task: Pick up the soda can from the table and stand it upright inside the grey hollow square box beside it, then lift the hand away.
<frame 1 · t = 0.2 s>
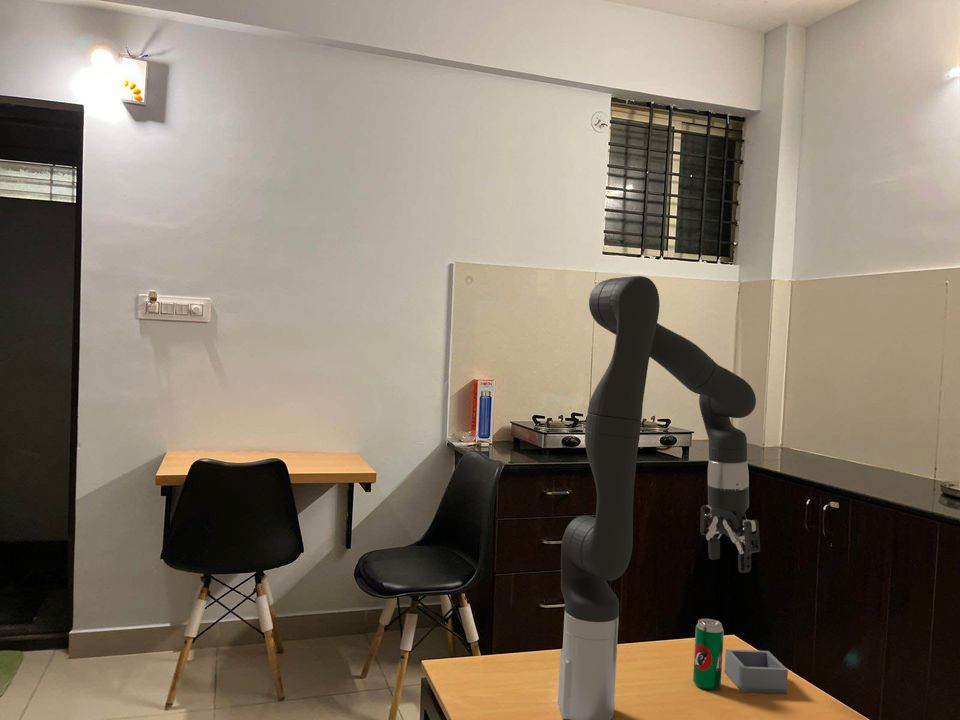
hand: (729, 565, 141), 22 cm above the table, tool pointing down, fingers open, 8 cm apart
soda can: (706, 686, 138), on the table
grey hollow square box: (754, 682, 140), on the table
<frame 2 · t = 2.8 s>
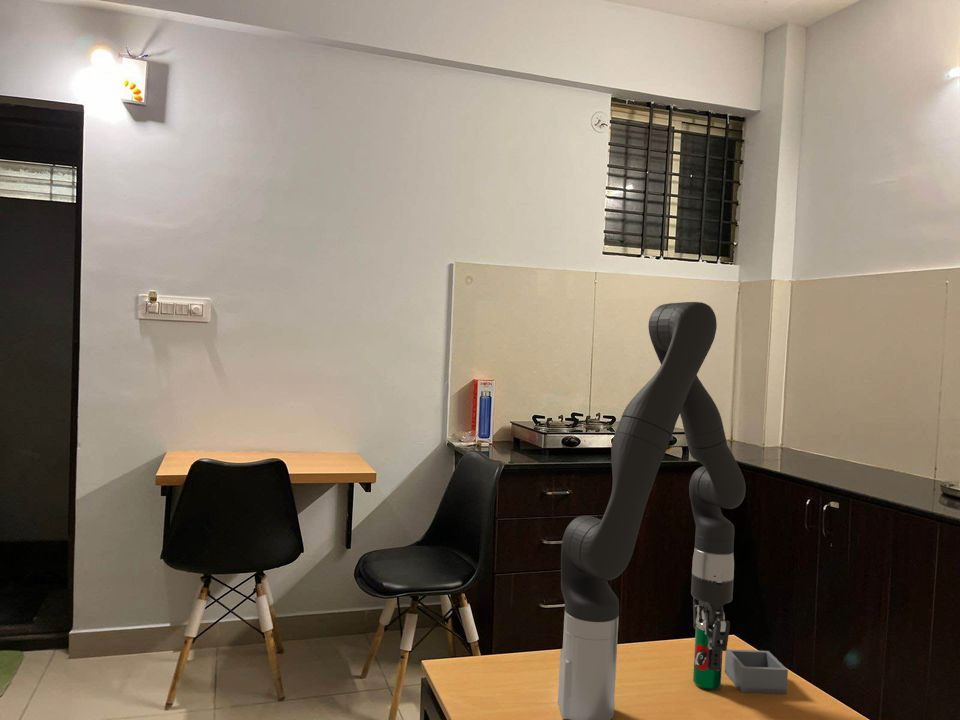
hand: (708, 662, 137), 4 cm above the table, tool pointing down, fingers closed on soda can, 5 cm apart
soda can: (706, 686, 138), on the table, touching gripper
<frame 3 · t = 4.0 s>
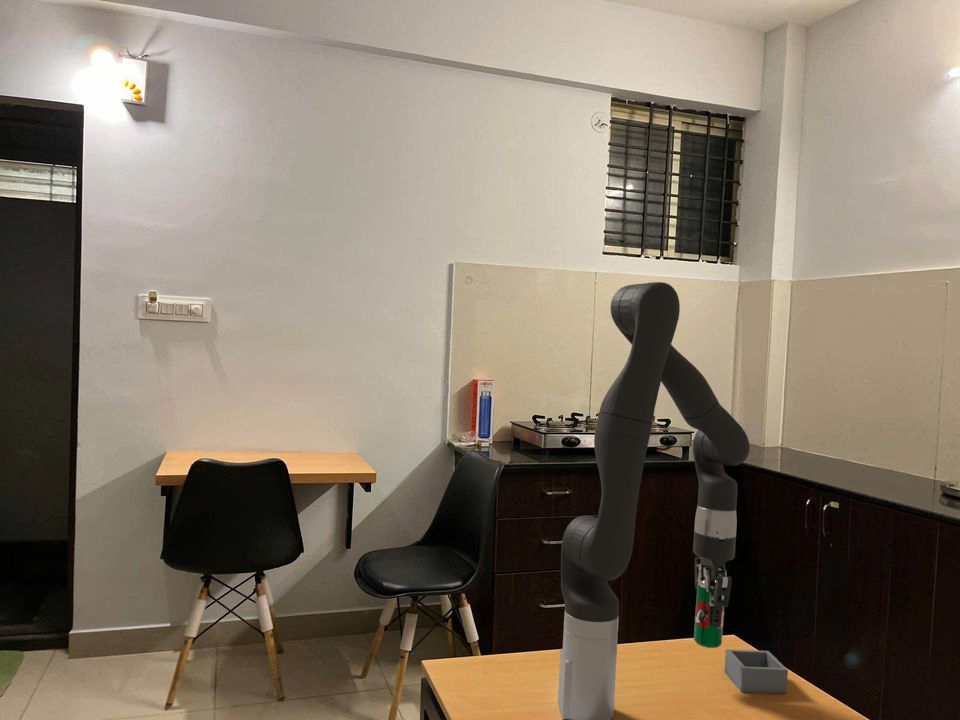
hand: (709, 620, 137), 12 cm above the table, tool pointing down, fingers closed on soda can, 5 cm apart
soda can: (707, 644, 137), point 8 cm above the table, touching gripper
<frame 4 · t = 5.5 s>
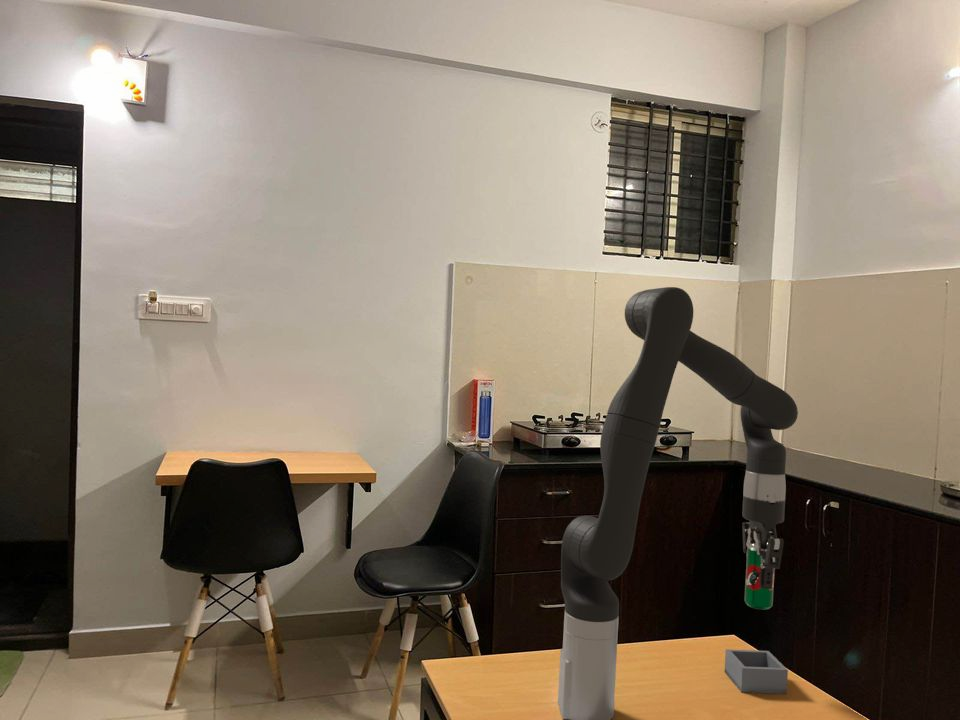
hand: (759, 582, 140), 19 cm above the table, tool pointing down, fingers closed on soda can, 5 cm apart
soda can: (758, 606, 140), point 15 cm above the table, touching gripper
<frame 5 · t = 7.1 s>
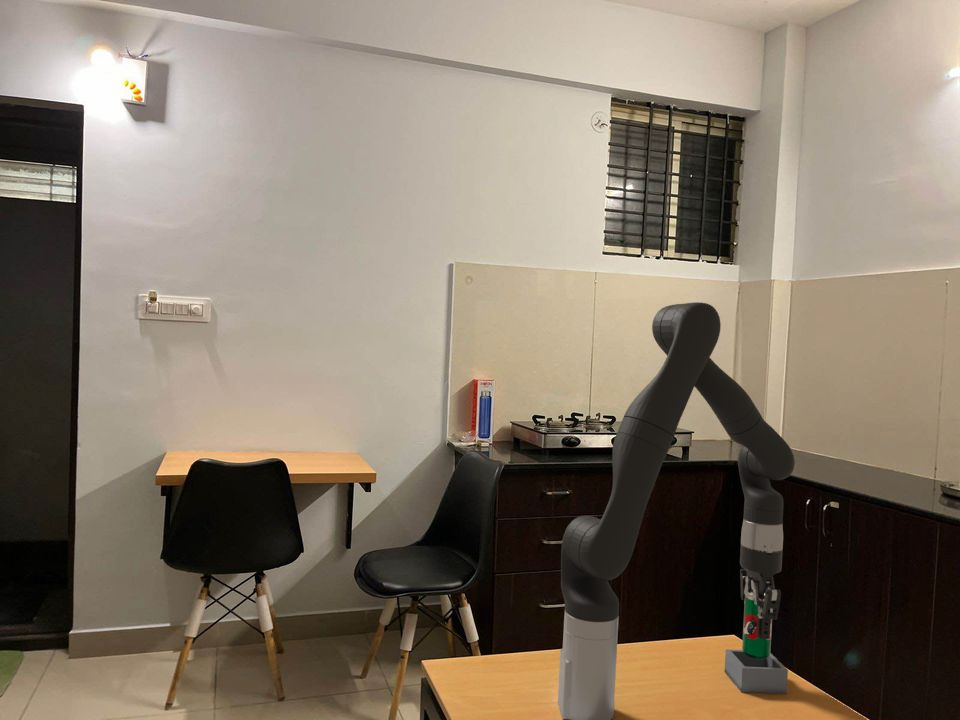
hand: (757, 631, 140), 10 cm above the table, tool pointing down, fingers closed on soda can, 5 cm apart
soda can: (755, 655, 140), point 5 cm above the table, touching gripper
when the fingers open (6 cm above the table, at t = 8.3 s): soda can drops 1 cm, resting on grey hollow square box.
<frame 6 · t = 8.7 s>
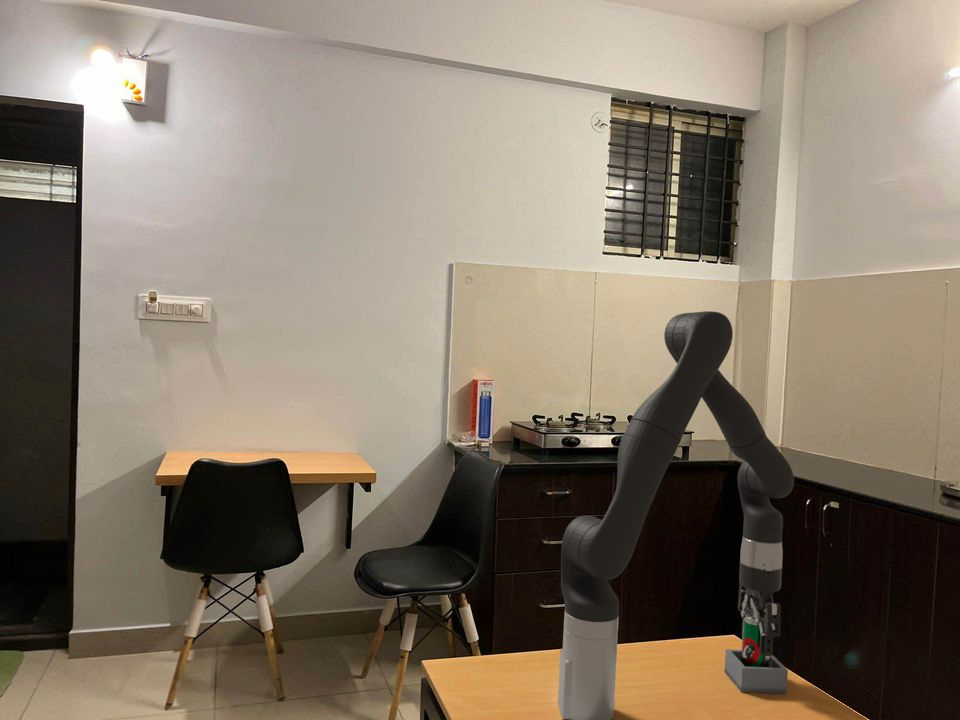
hand: (756, 646, 140), 7 cm above the table, tool pointing down, fingers open, 8 cm apart
soda can: (754, 679, 140), point 1 cm above the table, touching grey hollow square box
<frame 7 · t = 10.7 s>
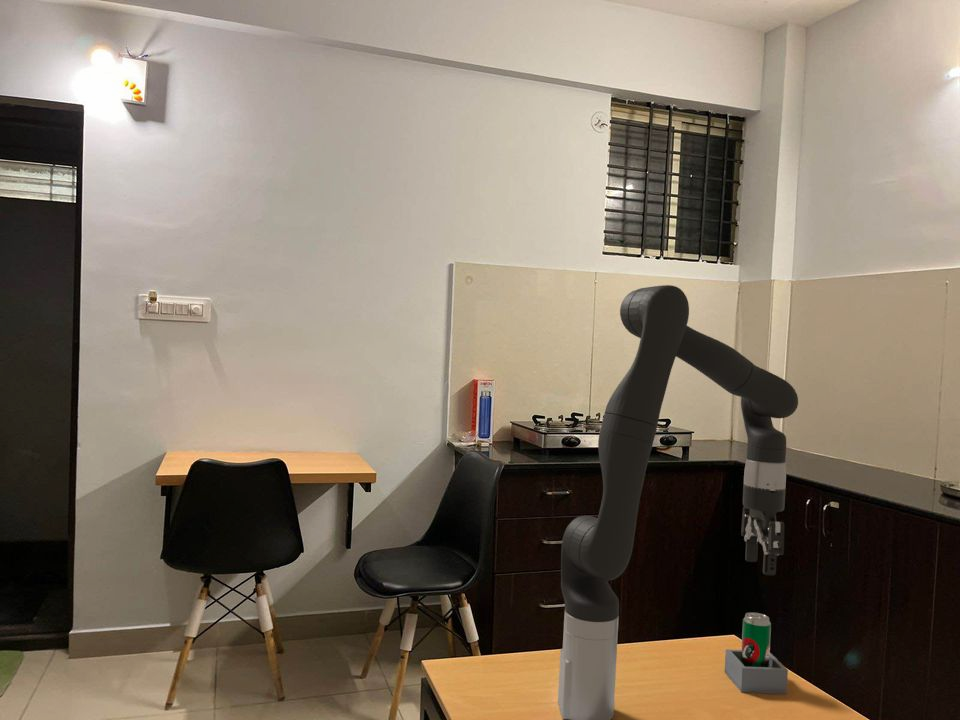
hand: (759, 567, 140), 22 cm above the table, tool pointing down, fingers open, 8 cm apart
nothing on the table moved.
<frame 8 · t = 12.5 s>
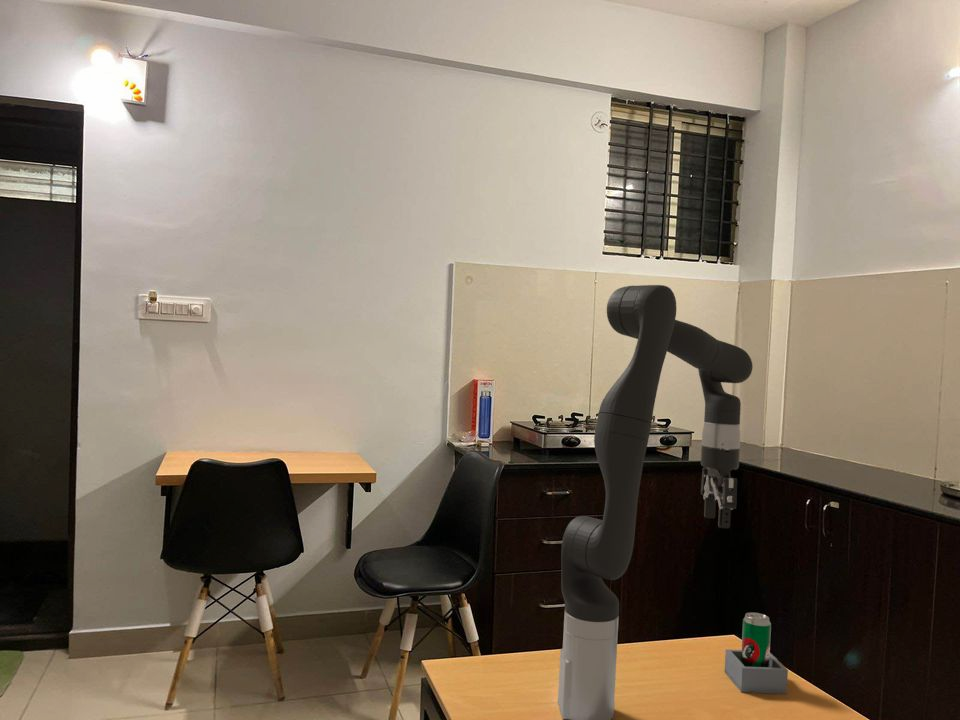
hand: (716, 522, 150), 28 cm above the table, tool pointing down, fingers open, 8 cm apart
nothing on the table moved.
at the end: soda can 0.1 cm off-centre on the grey hollow square box, point 0.6 cm above the grey hollow square box's base; soda can tilted 0°; the gripper is holding nothing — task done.
